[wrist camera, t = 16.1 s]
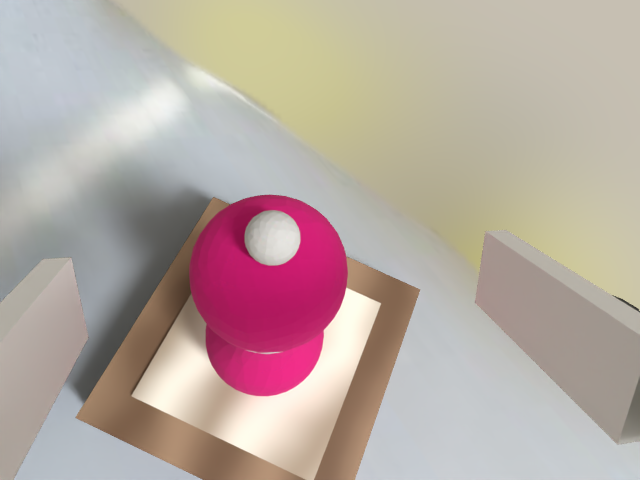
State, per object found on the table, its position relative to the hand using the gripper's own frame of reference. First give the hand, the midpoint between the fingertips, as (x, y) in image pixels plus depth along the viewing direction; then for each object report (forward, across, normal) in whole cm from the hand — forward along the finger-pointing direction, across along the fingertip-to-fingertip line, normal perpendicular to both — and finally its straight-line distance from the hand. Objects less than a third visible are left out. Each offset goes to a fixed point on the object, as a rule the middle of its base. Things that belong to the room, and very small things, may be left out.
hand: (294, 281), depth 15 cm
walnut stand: (+17, 0, -15) cm, 23 cm away
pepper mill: (+14, -1, -12) cm, 19 cm away
